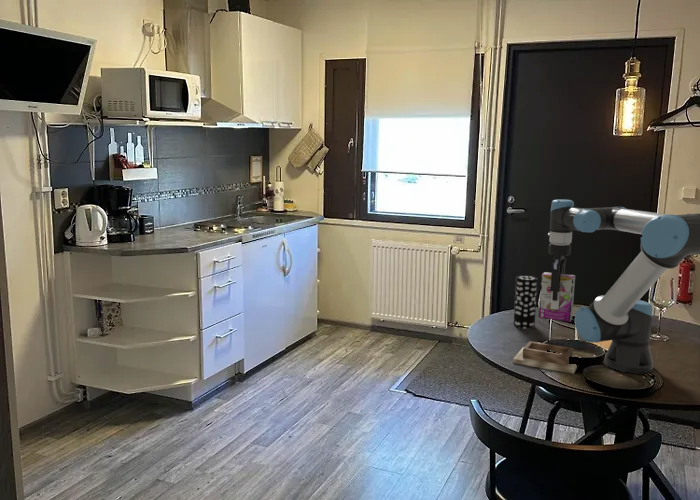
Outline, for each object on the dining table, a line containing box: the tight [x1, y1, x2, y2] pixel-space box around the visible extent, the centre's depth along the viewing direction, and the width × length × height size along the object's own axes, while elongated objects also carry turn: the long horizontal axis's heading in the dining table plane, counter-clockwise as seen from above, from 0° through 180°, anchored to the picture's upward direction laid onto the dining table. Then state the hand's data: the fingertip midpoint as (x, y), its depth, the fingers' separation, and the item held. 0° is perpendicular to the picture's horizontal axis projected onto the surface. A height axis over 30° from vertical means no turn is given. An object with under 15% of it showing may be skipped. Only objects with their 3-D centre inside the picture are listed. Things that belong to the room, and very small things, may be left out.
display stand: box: [512, 340, 578, 375], centre depth 222 cm, size 20×14×5 cm
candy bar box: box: [538, 271, 576, 323], centre depth 231 cm, size 11×5×16 cm, turn 64°
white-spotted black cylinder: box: [513, 275, 538, 330], centre depth 261 cm, size 8×8×20 cm
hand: (556, 306), depth 232 cm, fingers closed on candy bar box, 5 cm apart
